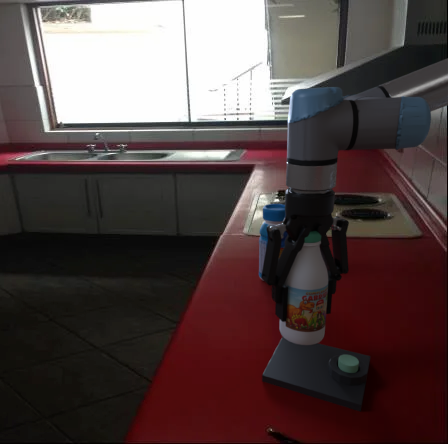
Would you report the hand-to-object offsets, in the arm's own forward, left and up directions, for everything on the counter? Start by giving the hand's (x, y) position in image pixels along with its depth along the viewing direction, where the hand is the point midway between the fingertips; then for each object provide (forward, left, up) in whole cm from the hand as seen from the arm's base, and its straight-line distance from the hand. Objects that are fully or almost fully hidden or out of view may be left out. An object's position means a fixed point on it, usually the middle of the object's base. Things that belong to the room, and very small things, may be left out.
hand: (302, 313), depth 74 cm
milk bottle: (0, 0, -4) cm, 4 cm away
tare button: (-8, 0, -9) cm, 12 cm away
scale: (-3, 0, -11) cm, 12 cm away
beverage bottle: (+15, -35, -11) cm, 40 cm away
